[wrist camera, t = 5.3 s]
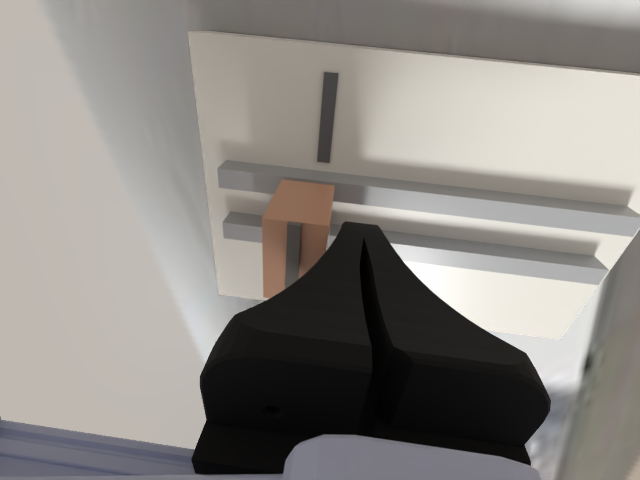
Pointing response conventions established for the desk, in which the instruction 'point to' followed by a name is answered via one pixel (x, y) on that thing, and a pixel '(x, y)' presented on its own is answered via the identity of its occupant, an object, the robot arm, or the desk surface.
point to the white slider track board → (427, 166)
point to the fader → (294, 232)
